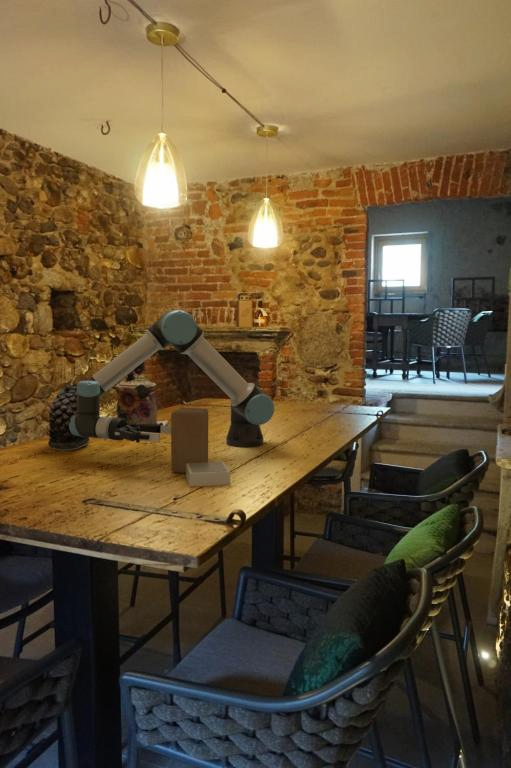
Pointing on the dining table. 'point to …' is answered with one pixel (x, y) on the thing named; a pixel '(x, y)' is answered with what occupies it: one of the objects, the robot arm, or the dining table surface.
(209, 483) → the tray
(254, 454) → the dining table surface
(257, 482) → the dining table surface
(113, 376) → the robot arm
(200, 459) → the block
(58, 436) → the studded ceramic pot
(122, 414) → the cookie jar
